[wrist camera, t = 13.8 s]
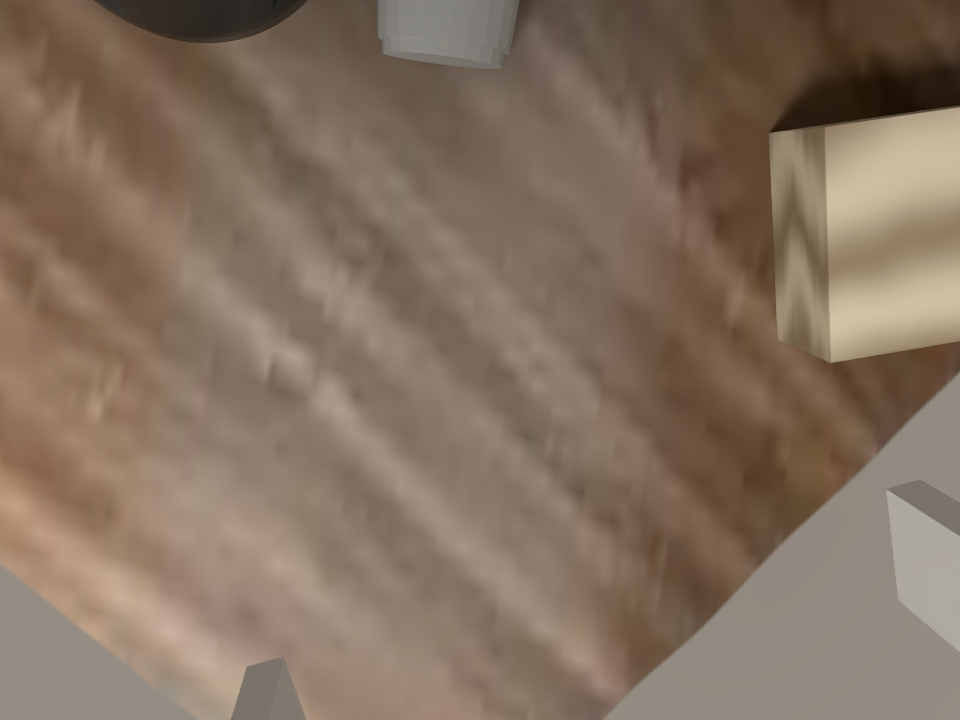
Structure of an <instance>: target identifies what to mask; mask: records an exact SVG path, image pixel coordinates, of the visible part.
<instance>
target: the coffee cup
mask: <svg viewBox="0 0 960 720" xmlns="http://www.w3.org/2000/svg"><path fill="white" fill-rule="evenodd" d="M518 6H519V0H377V38H379V39H380V40H382V53H384V54H386V55H389V56H393V57H398V58H403V59H408V60H414V61H420V62H427V63H434V64H441V65H449V66H459V67H469V68H482V69H501V68H502V66H503V61H504V56H508V55H510V51H511V45H512V40H513V34H514V28H515V23H516V17H517V12H518Z"/></svg>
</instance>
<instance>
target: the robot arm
mask: <svg viewBox="0 0 960 720" xmlns="http://www.w3.org/2000/svg"><path fill="white" fill-rule="evenodd" d="M95 1H96V2H97V3H99V4H100V5H101V6H103V7H104V8H106V9H107V10H109V11H110V12H112V13H113V14H115V15H117V16H119V17H120V18H122V19H124V20H126V21H127V22H129V23H131V24H133V25H135V26H137V27H139V28H141V29H144V30H146V31H148V32H151V33H154V34H156V35H160V36H163V37H166V38H170V39H175V40H179V41H186V42H195V43H219V42H228V41H234V40H239V39H243V38H246V37H250V36H253V35H256V34H258V33H261V32H263V31H265V30H267V29H270V28H271V27H273V26H275V25H277V24H279V23H280V22H282V21H283V20H285V19H286V18H288V17H289V16H290V15H292V14H293V13H294V12H296V11H297V10H298V9H299V8H300V7H301V6H302V5H303V4H304V3H305V2H306V1H307V0H95ZM886 492H887V501H888V510H889V519H890V528H891V537H892V546H893V555H894V563H895V572H896V580H897V590H898V599H899V601H900V602H901V603H903V604H904V605H905V606H906V607H907V608H909V609H910V610H911V611H912V612H913V613H914V614H916V615H917V616H918V617H919V618H920V619H922V620H923V621H924V622H925V623H926V624H927V625H929V626H930V627H931V628H932V629H933V630H935V631H936V632H937V633H938V634H939V635H940V636H942V637H943V638H944V639H945V640H946V641H947V642H948V643H950V644H951V645H952V646H953V647H954V648H956V649H957V650H958V651H959V652H960V503H959V502H957V501H956V500H954V499H952V498H950V497H949V496H947V495H945V494H943V493H942V492H940V491H939V490H937V489H935V488H933V487H932V486H930V485H928V484H926V483H925V482H923V481H921V480H917V481H913V482H910V483H906V484H902V485H899V486H895V487H892V488H888V489H886ZM231 720H306V718H305V715H304V712H303V709H302V707H301V704H300V701H299V698H298V696H297V693H296V690H295V687H294V684H293V682H292V679H291V676H290V673H289V671H288V668H287V665H286V662H285V659H284V657H281V658H277V659H273V660H270V661H266V662H263V663H259V664H256V665H252V666H248V667H247V669H246V672H245V675H244V679H243V682H242V685H241V688H240V692H239V695H238V698H237V702H236V705H235V708H234V712H233V715H232V718H231Z"/></svg>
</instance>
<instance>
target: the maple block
mask: <svg viewBox="0 0 960 720" xmlns="http://www.w3.org/2000/svg"><path fill="white" fill-rule="evenodd" d="M769 146H770V169H771V193H772V216H773V239H774V262H775V286H776V309H777V332H778V340H779V341H782V342H784V343H786V344H788V345H791V346H793V347H795V348H798V349H800V350H802V351H805V352H807V353H809V354H812V355H814V356H816V357H819V358H821V359H823V360H826V361H828V362H830V363H833V362H838V361H844V360H850V359H856V358H862V357H868V356H874V355H880V354H886V353H892V352H897V351H903V350H909V349H915V348H921V347H927V346H933V345H939V344H945V343H951V342H956V341H960V105H958V106H951V107H944V108H937V109H930V110H923V111H917V112H910V113H903V114H896V115H889V116H882V117H875V118H869V119H862V120H855V121H848V122H841V123H834V124H827V125H821V126H814V127H807V128H800V129H793V130H786V131H779V132H773V133H769Z"/></svg>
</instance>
